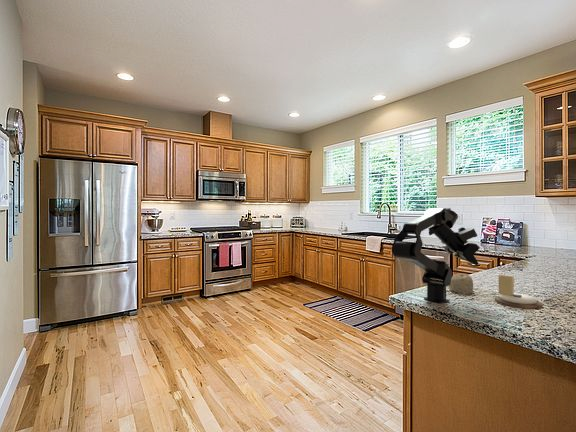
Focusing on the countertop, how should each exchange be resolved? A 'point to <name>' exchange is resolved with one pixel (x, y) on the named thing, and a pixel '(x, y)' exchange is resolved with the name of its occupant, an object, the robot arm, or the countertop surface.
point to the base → (527, 306)
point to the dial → (512, 291)
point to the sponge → (461, 283)
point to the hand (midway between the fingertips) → (477, 264)
